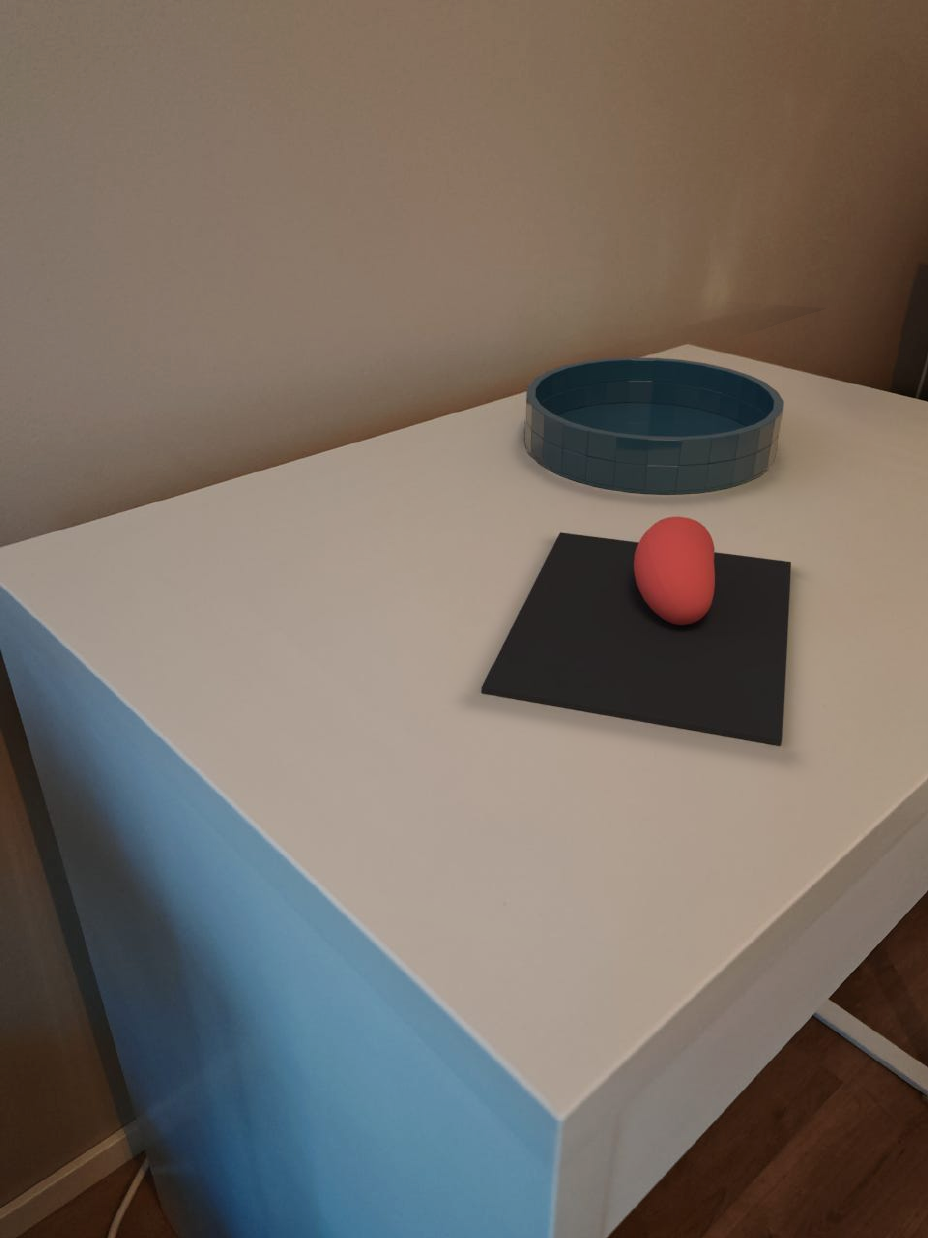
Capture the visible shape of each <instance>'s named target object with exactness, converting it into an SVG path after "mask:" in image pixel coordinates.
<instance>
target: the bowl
mask: <svg viewBox="0 0 928 1238" xmlns="http://www.w3.org/2000/svg"><path fill="white" fill-rule="evenodd" d="M784 404H785V401H784V399H783V398H782V396H781V395H780V393H779V391H778V390H776V389H775V388H773V387H772V386H771V385H770V384H769V383H767V382H765V381H763V380H761V379H759V378H756V377H755V376H752V375H751V374H750V375H749V374H748V373H744V372H741V371H737V370H735V369H732V368H728V367H724V366H719V365H716V364H711V363H706V362H699V361H692V360H687V359H678V358H677V359H676V358H664V357H637V356H636V357H635V356H634V357H628V356H626V357H610V358H609V357H607V358H598V359H591V360H583V361H579V362H575V363H570V364H565V365H560V366H559V367H556V368H552V369H550V370H547V371H545V372H544V373H541V374H540V375H538V376H537V377H535V378H534V379H533V380H531V382H530V384H529V385H528V386H527V387H526V395H525V430H524V443H525V447H526V451H527V452H528V454H529V456H531V457H532V459H533V460H534V461H535V462H537V463H538V464H539V465H541V466H542V467H543V468H545V469H547V470H549V471H551V472H552V473H554V474H557V475H559V476H562V477H564V478H566V479H569V480H571V481H574V482H577V483H580V484H585V485H587V486H588V485H589V486H593V487H597V488H601V489H606V490H612V491H618V492H625V493H637V494H644V495H645V494H646V495H647V494H648V495H687V494H689V495H690V494H701V493H707V492H714V491H715V492H716V491H720V490H725V489H730V488H733V487H736V486H739V485H744V484H745V483H748V482H750V481H753V480H755V479H756V478H758V477H760V476H762V475H763V474H765V473H766V472H767V471H768V470H769V469H770V468H771V466H772V465H773V464H774V462H775V459H776V454H777V449H778V443H779V437H780V431H781V426H782V419H783V414H784Z"/></svg>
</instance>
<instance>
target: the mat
mask: <svg viewBox="0 0 928 1238" xmlns="http://www.w3.org/2000/svg"><path fill="white" fill-rule="evenodd" d="M638 543H639V541H631V540H623V539H615V538H610V537H609V538H608V537H600V536H593V535H586V534H585V535H583V534H577V533H570V532H561V531H560V532H559V533H558V535H557V537H556V539H555V541H554V543H553V544H552V546H551V549H550V550H549V553H548V555H547V557H546V559H545V561H544V563H543V565H542V567H541V568H540V571H539V573H538V574H537V577H536V579H535V581H534V583H533V585H532V587H531V588H530V591H529V592H528V594H527V597H526V598H525V601H524V603H523V604H522V606H521V609H520V610H519V612H518V614H517V616H516V618H515V620H514V622H513V624H512V626H511V628H510V630H509V632H508V634H507V636H506V637H505V640H504V642H503V644H502V646H501V648H500V650H499V652H498V654H497V656H496V658H495V660H494V661H493V664H492V666H491V667H490V669H489V672H488V674H487V676H486V678H485V680H484V682H483V683H482V685H481V694H487V695H493V696H498V697H503V698H509V699H515V700H520V701H526V702H532V703H538V704H544V705H549V706H554V707H559V708H565V709H571V710H572V709H573V710H577V711H583V712H587V713H593V714H600V715H606V716H610V717H611V716H612V717H615V718H617V717H618V718H623V719H629V720H633V721H639V722H645V723H651V724H656V725H662V726H667V727H673V728H679V729H683V730H684V729H685V730H689V731H697V732H701V733H702V732H703V733H708V734H713V735H719V736H724V737H730V738H735V739H742V740H747V741H752V742H757V743H764V744H769V745H774V746H775V745H776V746H782V743H783V734H784V733H783V732H784V731H783V730H784V711H785V710H784V709H785V692H786V691H785V690H786V670H787V650H788V631H789V614H790V613H789V610H790V590H791V573H792V571H791V569H792V562H791V561H786V560H779V559H771V558H763V557H755V556H749V555H748V556H746V555H740V554H733V553H723V552H715V551H714V567H715V588H714V595H713V600H712V604H711V606H710V608H709V610H708V612H707V613H706V614H705V615H704V616H703V617H702V618H701V619H700V620H699V621H697V622H695V623H692V624H688V625H675V624H671V623H669V622H667V621H666V620H664V619H662V618H661V617H660V616H658V615H657V614H656V613H655V612H654V611H653V610H652V609H651V608H650V607H649V605H648V604H647V603H646V602H645V600H644V599H643V597H642V595H641V593H640V591H639V589H638V586H637V582H636V578H635V572H634V559H635V552H636V549H637V545H638Z"/></svg>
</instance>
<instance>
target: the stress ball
mask: <svg viewBox="0 0 928 1238" xmlns="http://www.w3.org/2000/svg"><path fill="white" fill-rule="evenodd" d="M638 542H639V543H638V545H637V549H636V552H635V559H634V572H635V578H636V582H637V586H638V589H639V591H640V593H641V595H642V597H643V599H644V600H645V602H646V603H647V604H648V605H649V607H650V608H651V609H652V610H653V611H654V612H655V613H656V614H657V615H658V616H660V617H661V618H662V619H664V620H666V621H667V622H669V623H671V624H675V625H688V624H692V623H695V622H697V621H699V620H700V619H701V618H702V617H703V616H704V615H705V614H706V613H707V612H708V610H709V608H710V606H711V604H712V600H713V595H714V588H715V567H714V552H715V544H714V540H713V537H712V535H711V534H710V532H709V531H708V529H707V528H706V527H705V526H704V525H703V524H702V523H701V522H699V521H697V520H695V519H693V518H690V517H685V516H670V517H669V516H668V517H664V518H663V519H659V520H658V521H657V522H655V523H653V524H652V525H651V526H650V527H649V528H648V529H647V530H646V531H645V532H644V533H643V534H642V536H641V537H640V539H639V541H638Z"/></svg>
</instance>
